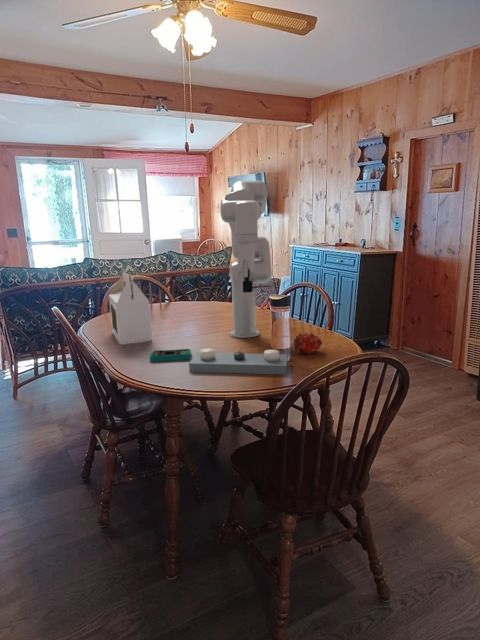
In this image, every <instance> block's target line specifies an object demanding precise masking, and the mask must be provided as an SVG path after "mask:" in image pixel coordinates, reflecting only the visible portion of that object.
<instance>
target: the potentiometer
mask: <svg viewBox="0 0 480 640" xmlns="http://www.w3.org/2000/svg"><path fill="white" fill-rule="evenodd" d="M233 353H234V359H235V360H244V359H245V352H243V351H242V349H241V348H237V352H233Z"/></svg>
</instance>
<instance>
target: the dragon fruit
mask: <svg viewBox="0 0 480 640" xmlns="http://www.w3.org/2000/svg"><path fill="white" fill-rule="evenodd" d="M322 344H323V341H322V340H321V338H319V336H317V335H314V333H313V332H310V333H308V332H305V333H298V335H296V337H294V339H293V348H294V350H295V351H296V352H300V354H301V353H302V354H301V355H303V354H304V353H305V354H308V355H310V354H312V353H313V354H317V353H318V350H319V349H320V347H321V346H322Z"/></svg>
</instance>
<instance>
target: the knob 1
mask: <svg viewBox="0 0 480 640" xmlns="http://www.w3.org/2000/svg"><path fill="white" fill-rule="evenodd" d="M199 353H200V358H201V359H203V360H210V359H214V358H215V353H216V351H215V349H214V348H209V347H208V348H202V349H200V350H199Z"/></svg>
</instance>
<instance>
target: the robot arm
mask: <svg viewBox="0 0 480 640" xmlns="http://www.w3.org/2000/svg"><path fill="white" fill-rule="evenodd" d="M267 200H268V187H267V185H266V183H265V182H264V181H262V180H239V181H236V182H234V183H233V184H232V186H231V189H230V192H229V193H227V194H225V195H223V196H222V198H221V200H220V204H219V205H220V208H219V209H220V211H219V212H220V217H221V220H222V221H223V222H224V223H226V224H227V223H228V225H229V228H230V231H231V232H230V234H231V235H230V236H231V252H232V256H233V258H234V259H236V260H237V261H234V262H232V263H231V264H230V266H229V278H230V282H231V283H230V284H231V298H232V327H233V329H232V330H231V331H229V336H230V337H232V338H236V339H250V338H254V337H255V338H256V337H257V336H259V335H260V331H259V330H257V329H256V295H255V291H253V290H254V289H253V284H268V283H269V282H271V280H272V272H273V271H272V262H271V259H272V258H271V247H270V242H269V240H268V239H267V238H266V237H264V236H259V229H258V226H259V223H258V222H259V220H260V218H261V217H262V215H263V214H264V213H265V211H266V207H267Z"/></svg>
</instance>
